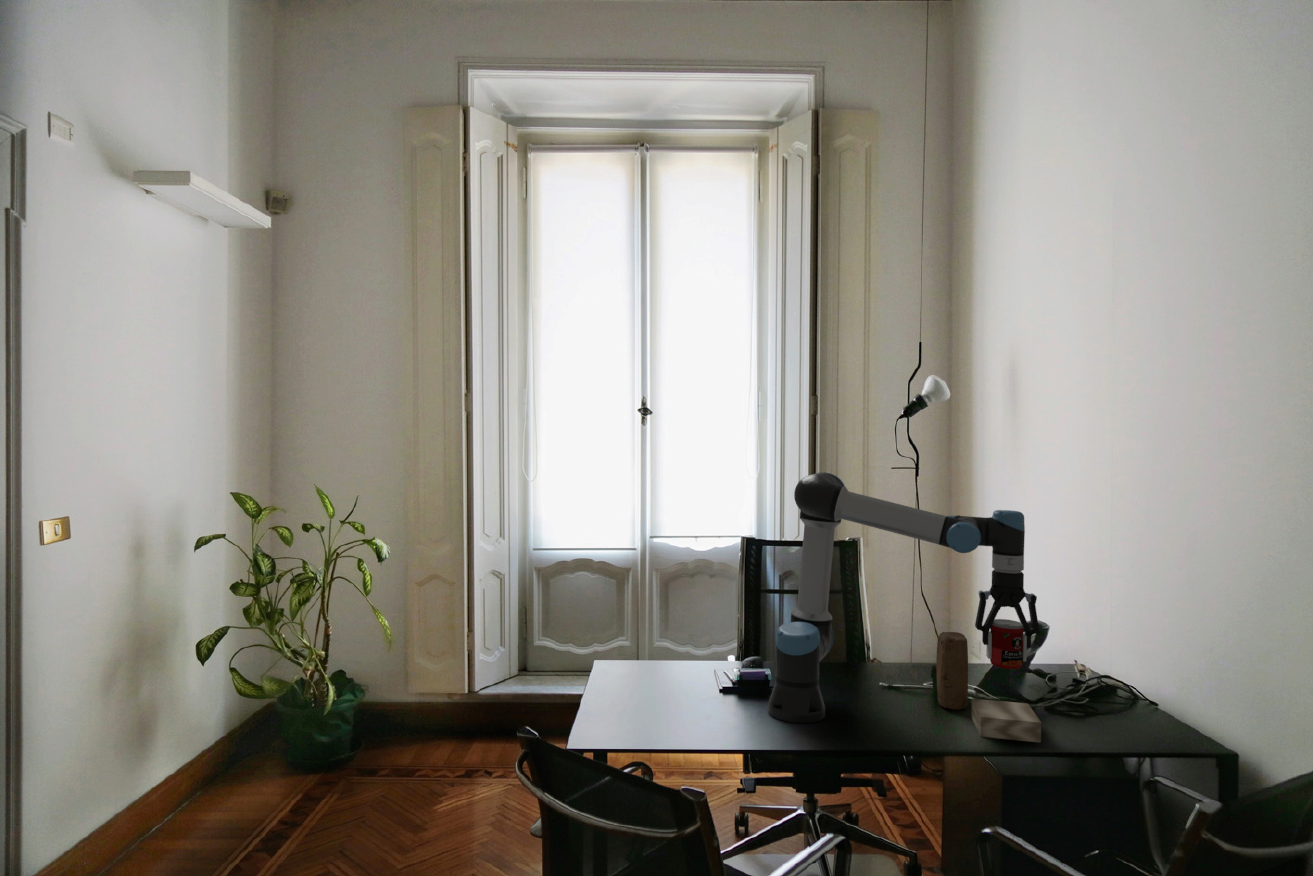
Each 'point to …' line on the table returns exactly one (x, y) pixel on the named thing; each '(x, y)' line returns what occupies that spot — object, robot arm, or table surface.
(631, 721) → the table surface
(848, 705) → the table surface
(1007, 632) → the canned food
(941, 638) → the block
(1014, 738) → the birch base block
